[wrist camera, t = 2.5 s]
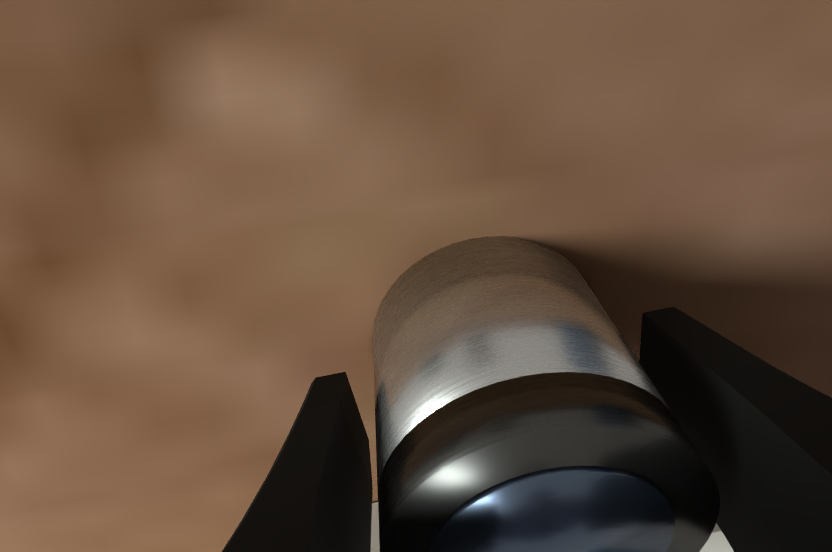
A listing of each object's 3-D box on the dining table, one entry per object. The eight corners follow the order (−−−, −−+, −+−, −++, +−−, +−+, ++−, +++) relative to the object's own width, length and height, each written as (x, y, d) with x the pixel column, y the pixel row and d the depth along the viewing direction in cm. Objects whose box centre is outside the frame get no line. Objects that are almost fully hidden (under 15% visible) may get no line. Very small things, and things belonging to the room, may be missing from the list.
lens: (498, 437, 14) (560, 659, 10) (330, 364, 12) (314, 597, 8) (638, 303, 12) (794, 507, 8) (463, 191, 10) (539, 377, 6)
